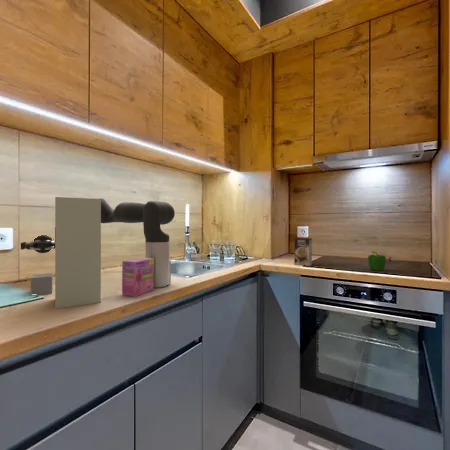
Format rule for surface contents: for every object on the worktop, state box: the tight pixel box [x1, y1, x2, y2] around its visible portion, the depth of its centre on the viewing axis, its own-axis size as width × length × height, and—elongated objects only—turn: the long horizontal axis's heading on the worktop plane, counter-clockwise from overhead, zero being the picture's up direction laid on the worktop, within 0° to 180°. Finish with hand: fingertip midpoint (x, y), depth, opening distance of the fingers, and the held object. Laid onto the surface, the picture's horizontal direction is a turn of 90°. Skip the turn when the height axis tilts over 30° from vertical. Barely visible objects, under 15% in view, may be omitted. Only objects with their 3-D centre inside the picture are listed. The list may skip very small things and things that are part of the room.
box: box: [121, 257, 154, 297], centre depth 98 cm, size 10×6×12 cm, turn 158°
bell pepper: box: [367, 250, 387, 272], centre depth 147 cm, size 8×8×10 cm
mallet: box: [30, 272, 54, 296], centre depth 104 cm, size 22×6×6 cm, turn 31°
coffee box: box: [293, 237, 313, 267], centre depth 167 cm, size 9×6×16 cm
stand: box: [54, 196, 102, 309], centre depth 88 cm, size 12×12×32 cm
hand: (41, 246), depth 107 cm, fingers open, 8 cm apart
